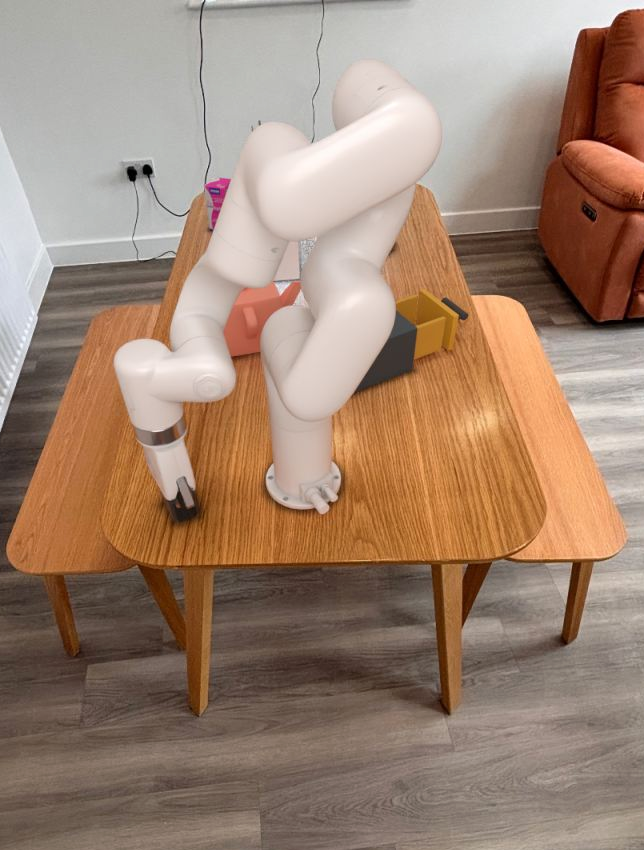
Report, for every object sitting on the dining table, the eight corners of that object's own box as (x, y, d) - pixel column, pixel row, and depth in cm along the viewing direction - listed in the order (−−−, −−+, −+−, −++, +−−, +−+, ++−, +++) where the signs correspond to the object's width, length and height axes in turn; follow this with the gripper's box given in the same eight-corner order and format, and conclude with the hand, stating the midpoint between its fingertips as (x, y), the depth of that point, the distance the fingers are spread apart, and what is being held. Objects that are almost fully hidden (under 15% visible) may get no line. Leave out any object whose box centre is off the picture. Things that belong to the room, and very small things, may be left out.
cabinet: (377, 338, 134) (380, 296, 126) (412, 370, 126) (417, 328, 119) (317, 360, 129) (316, 318, 122) (349, 394, 122) (351, 352, 115)
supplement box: (209, 231, 167) (202, 185, 158) (217, 220, 170) (211, 175, 162) (229, 233, 165) (224, 188, 157) (238, 223, 169) (233, 178, 160)
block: (199, 511, 104) (195, 493, 101) (174, 522, 103) (169, 504, 99) (189, 494, 107) (184, 476, 103) (164, 504, 105) (159, 486, 102)
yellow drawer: (437, 315, 137) (442, 281, 131) (471, 342, 130) (478, 308, 125) (366, 340, 132) (368, 307, 126) (397, 370, 125) (400, 336, 119)
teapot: (221, 375, 127) (211, 314, 116) (202, 316, 141) (192, 256, 130) (317, 357, 130) (316, 295, 119) (290, 301, 144) (287, 241, 133)
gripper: (115, 399, 94) (142, 483, 108) (155, 469, 85) (179, 552, 99) (163, 382, 97) (183, 467, 111) (207, 449, 87) (223, 533, 101)
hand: (181, 506), depth 104 cm, fingers closed on block, 4 cm apart
